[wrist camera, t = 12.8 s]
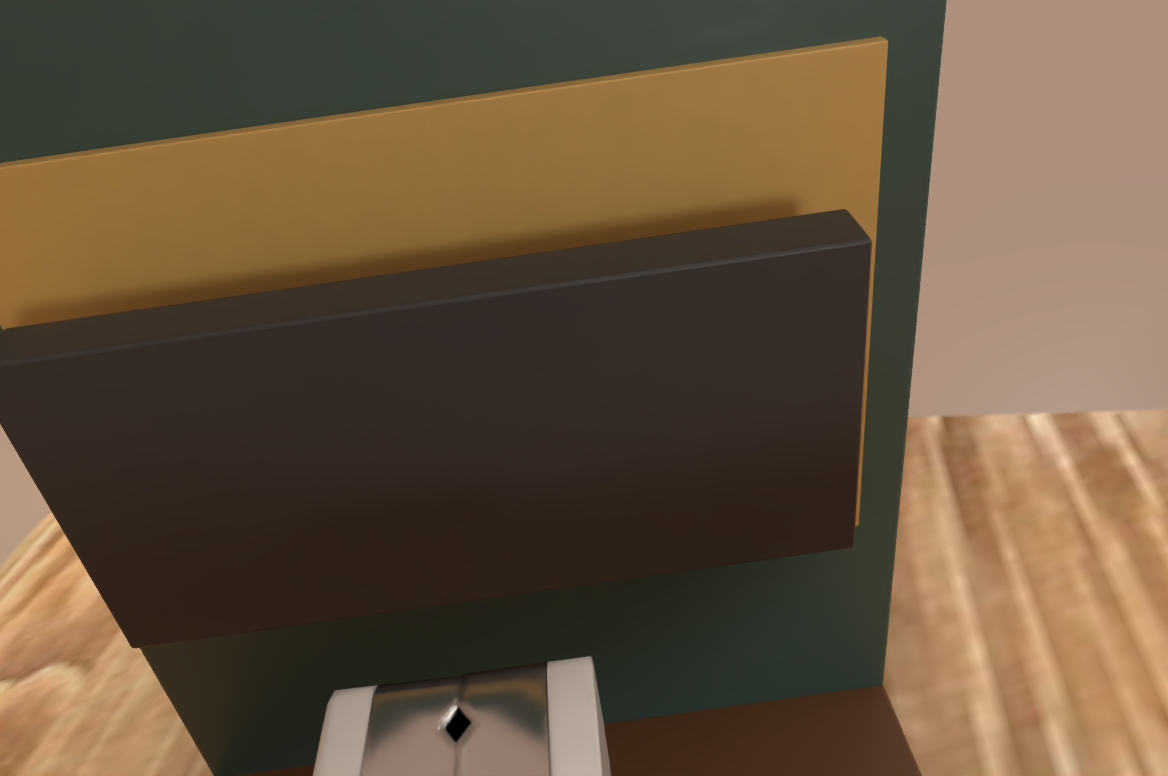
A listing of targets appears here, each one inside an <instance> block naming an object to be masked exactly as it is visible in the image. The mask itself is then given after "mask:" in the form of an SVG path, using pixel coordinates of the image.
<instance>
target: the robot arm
mask: <svg viewBox="0 0 1168 776" xmlns="http://www.w3.org/2000/svg"><path fill="white" fill-rule="evenodd" d="M313 776H611V771H610V762H609V755H608V749H607V742H606V735H605V729H604V722H603V716H602V710H601V704H600V698H599V693H598V687H597V681H596V675H595V670H594V664H593V660H592V657H591V656H588V657H581V658H573V659H566V660H559V661H551V662H547V661H545V662H538V663H532V664H525V665H518V666H512V667H505V668H499V669H492V670H485V671H479V672H472V673H465V674H463V676H454V677H445V678H436V679H427V680H418V681H408V682H399V683H390V684H381V685H374V686H366V687H358V688H350V689H342V690H335V691H334V693H333V694H332V696H331V698H330V700H329V702H328V704H327V708H326V713H325V718H324V723H323V728H322V732H321V737H320V742H319V747H318V752H317V757H316V762H315V767H314V772H313Z"/></svg>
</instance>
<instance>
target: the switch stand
mask: <svg viewBox="0 0 1168 776" xmlns="http://www.w3.org/2000/svg"><path fill="white" fill-rule="evenodd" d="M945 11H946V0H0V333H1V332H2V331H3V330H4V329H6V328H12V327H19V326H26V325H33V324H40V323H47V322H54V321H61V320H68V319H75V318H82V317H89V316H96V315H103V314H110V313H117V312H124V311H131V310H138V309H145V308H152V307H159V306H166V305H173V304H180V303H187V302H194V301H201V300H208V299H215V298H222V297H229V296H236V295H243V294H250V293H257V292H264V291H272V290H279V289H286V288H293V287H300V286H307V285H314V284H321V283H328V282H335V281H342V280H349V279H356V278H363V277H370V276H377V275H384V274H391V273H398V272H405V271H412V270H419V269H426V268H433V267H440V266H447V265H454V264H461V263H468V262H475V261H482V260H489V259H496V258H503V257H510V256H517V255H524V254H531V253H538V252H545V251H552V250H559V249H566V248H573V247H580V246H587V245H594V244H601V243H608V242H615V241H622V240H629V239H636V238H643V237H650V236H657V235H664V234H671V233H678V232H685V231H692V230H699V229H706V228H713V227H720V226H727V225H735V224H742V223H749V222H756V221H763V220H770V219H777V218H784V217H791V216H798V215H805V214H812V213H819V212H826V211H833V210H840V209H846V210H848V211H849V212H850V214H851V215H852V216H853V217H854V218H855V220H856V221H857V222H858V223H859V225H860V226H861V227H862V228H863V230H864V231H865V232H866V233H867V234H868V236H869V237H870V238H871V240H872V251H871V268H870V285H869V302H868V319H867V336H866V353H865V370H864V387H863V404H862V421H861V438H860V455H859V472H858V489H857V506H856V523H855V540H854V546H853V547H852V548H846V549H839V550H831V551H824V552H817V553H810V554H803V555H796V556H789V557H782V558H774V559H767V560H760V561H753V562H746V563H739V564H732V565H725V566H717V567H710V568H703V569H696V570H689V571H682V572H675V573H668V574H661V575H653V576H646V577H639V578H632V579H625V580H618V581H611V582H604V583H596V584H589V585H582V586H575V587H568V588H561V589H554V590H547V591H539V592H532V593H525V594H518V595H511V596H504V597H497V598H490V599H483V600H475V601H468V602H461V603H454V604H447V605H440V606H433V607H426V608H418V609H411V610H404V611H397V612H390V613H383V614H376V615H369V616H361V617H354V618H347V619H340V620H333V621H326V622H319V623H312V624H305V625H297V626H290V627H283V628H276V629H269V630H262V631H255V632H248V633H240V634H233V635H226V636H219V637H212V638H205V639H198V640H191V641H183V642H176V643H169V644H162V645H155V646H148V647H141V648H140V649H141V651H142V653H143V654H144V656H145V658H146V660H147V661H148V663H149V665H150V666H151V668H152V670H153V672H154V673H155V675H156V677H157V678H158V680H159V682H160V684H161V685H162V687H163V689H164V691H165V692H166V694H167V696H168V697H169V699H170V701H171V703H172V704H173V706H174V708H175V709H176V711H177V713H178V715H179V716H180V718H181V720H182V722H183V723H184V725H185V727H186V728H187V730H188V732H189V734H190V735H191V737H192V739H193V741H194V742H195V744H196V746H197V747H198V749H199V751H200V753H201V754H202V756H203V758H204V759H205V761H206V763H207V765H208V766H209V768H210V770H211V772H212V773H213V775H214V776H313V772H314V767H315V762H316V757H317V752H318V747H319V742H320V737H321V732H322V728H323V723H324V718H325V713H326V708H327V704H328V702H329V700H330V698H331V696H332V694H333V693H334V691H335V690H342V689H350V688H358V687H366V686H374V685H381V684H390V683H399V682H408V681H418V680H427V679H436V678H445V677H454V676H463V674H465V673H472V672H479V671H485V670H492V669H499V668H505V667H512V666H518V665H525V664H532V663H538V662H545V661H547V662H551V661H559V660H566V659H573V658H581V657H588V656H591V657H592V660H593V664H594V670H595V675H596V681H597V687H598V693H599V698H600V704H601V710H602V716H603V722H604V729H605V735H606V742H607V749H608V755H609V762H610V771H611V776H921V773H920V771H919V769H918V766H917V764H916V761H915V759H914V757H913V754H912V752H911V750H910V747H909V745H908V743H907V740H906V738H905V735H904V733H903V731H902V728H901V726H900V724H899V721H898V719H897V717H896V714H895V712H894V709H893V707H892V705H891V702H890V700H889V698H888V695H887V693H886V691H885V688H884V686H883V678H884V667H885V656H886V645H887V635H888V624H889V613H890V602H891V592H892V581H893V570H894V559H895V549H896V538H897V527H898V516H899V506H900V495H901V484H902V473H903V463H904V452H905V441H906V430H907V420H908V409H909V398H910V386H911V376H912V365H913V355H914V344H915V334H916V322H917V311H918V301H919V290H920V279H921V269H922V257H923V248H924V237H925V226H926V215H927V205H928V193H929V182H930V171H931V162H932V161H931V160H932V151H933V150H932V149H933V140H934V129H935V118H936V108H937V97H938V86H939V75H940V65H941V54H942V43H943V32H944V22H945Z"/></svg>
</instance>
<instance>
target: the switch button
mask: <svg viewBox="0 0 1168 776" xmlns="http://www.w3.org/2000/svg"><path fill="white" fill-rule="evenodd" d="M871 251H872V240H871V238H870V237H869V236H868V234H867V233H866V232H865V231H864V230H863V228H862V227H861V226H860V225H859V223H858V222H857V221H856V220H855V218H854V217H853V216H852V215H851V214H850V212H849V211H848V210H846V209H840V210H833V211H826V212H819V213H812V214H805V215H798V216H791V217H784V218H777V219H770V220H763V221H756V222H749V223H742V224H735V225H727V226H720V227H713V228H706V229H699V230H692V231H685V232H678V233H671V234H664V235H657V236H650V237H643V238H636V239H629V240H622V241H615V242H608V243H601V244H594V245H587V246H580V247H573V248H566V249H559V250H552V251H545V252H538V253H531V254H524V255H517V256H510V257H503V258H496V259H489V260H482V261H475V262H468V263H461V264H454V265H447V266H440V267H433V268H426V269H419V270H412V271H405V272H398V273H391V274H384V275H377V276H370V277H363V278H356V279H349V280H342V281H335V282H328V283H321V284H314V285H307V286H300V287H293V288H286V289H279V290H272V291H264V292H257V293H250V294H243V295H236V296H229V297H222V298H215V299H208V300H201V301H194V302H187V303H180V304H173V305H166V306H159V307H152V308H145V309H138V310H131V311H124V312H117V313H110V314H103V315H96V316H89V317H82V318H75V319H68V320H61V321H54V322H47V323H40V324H33V325H26V326H19V327H12V328H6V329H4V330H3V331H2V332H1V333H0V424H1V426H2V428H3V429H4V431H5V433H6V434H7V436H8V438H9V439H10V441H11V443H12V445H13V446H14V448H15V450H16V451H17V453H18V455H19V457H20V458H21V460H22V462H23V463H24V465H25V467H26V468H27V470H28V472H29V474H30V475H31V477H32V479H33V480H34V482H35V484H36V486H37V487H38V489H39V491H40V492H41V494H42V496H43V497H44V499H45V501H46V503H47V504H48V506H49V508H50V509H51V511H52V513H53V514H54V516H55V518H56V520H57V521H58V523H59V525H60V526H61V528H62V530H63V531H64V533H65V535H66V537H67V538H68V540H69V542H70V543H71V545H72V547H73V549H74V550H75V552H76V554H77V555H78V557H79V559H80V560H81V562H82V564H83V566H84V567H85V569H86V571H87V572H88V574H89V576H90V577H91V579H92V581H93V583H94V584H95V586H96V588H97V589H98V591H99V593H100V595H101V596H102V598H103V600H104V601H105V603H106V605H107V606H108V608H109V610H110V612H111V613H112V615H113V617H114V618H115V620H116V622H117V623H118V625H119V627H120V629H121V630H122V632H123V634H124V635H125V637H126V639H127V640H128V642H129V644H130V646H131V647H132V648H141V647H148V646H155V645H162V644H169V643H176V642H183V641H191V640H198V639H205V638H212V637H219V636H226V635H233V634H240V633H248V632H255V631H262V630H269V629H276V628H283V627H290V626H297V625H305V624H312V623H319V622H326V621H333V620H340V619H347V618H354V617H361V616H369V615H376V614H383V613H390V612H397V611H404V610H411V609H418V608H426V607H433V606H440V605H447V604H454V603H461V602H468V601H475V600H483V599H490V598H497V597H504V596H511V595H518V594H525V593H532V592H539V591H547V590H554V589H561V588H568V587H575V586H582V585H589V584H596V583H604V582H611V581H618V580H625V579H632V578H639V577H646V576H653V575H661V574H668V573H675V572H682V571H689V570H696V569H703V568H710V567H717V566H725V565H732V564H739V563H746V562H753V561H760V560H767V559H774V558H782V557H789V556H796V555H803V554H810V553H817V552H824V551H831V550H839V549H846V548H852V547H853V546H854V540H855V523H856V506H857V489H858V472H859V455H860V438H861V421H862V404H863V387H864V370H865V353H866V336H867V319H868V302H869V285H870V268H871Z"/></svg>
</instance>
